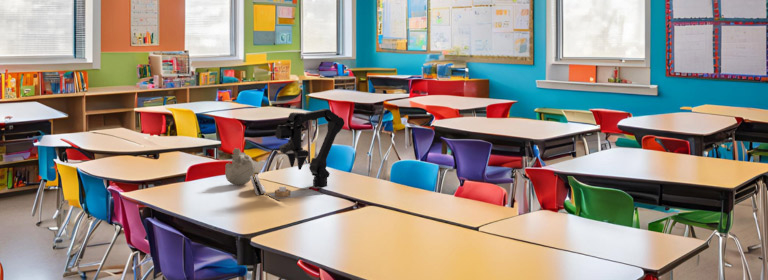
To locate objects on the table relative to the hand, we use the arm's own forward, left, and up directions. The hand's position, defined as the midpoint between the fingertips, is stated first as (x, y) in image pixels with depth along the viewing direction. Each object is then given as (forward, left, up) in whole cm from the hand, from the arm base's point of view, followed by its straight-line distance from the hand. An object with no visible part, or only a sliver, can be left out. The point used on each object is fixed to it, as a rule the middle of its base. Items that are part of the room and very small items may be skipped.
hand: (295, 168), depth 363 cm
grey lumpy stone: (+19, -28, -12) cm, 36 cm away
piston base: (+5, +11, -12) cm, 17 cm away
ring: (+12, +11, -11) cm, 20 cm away
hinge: (+17, -7, -12) cm, 23 cm away
